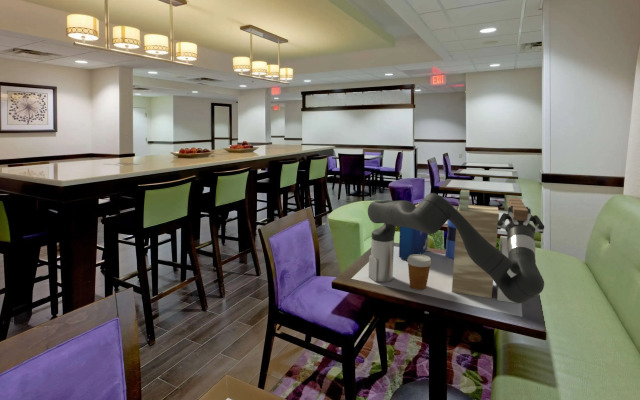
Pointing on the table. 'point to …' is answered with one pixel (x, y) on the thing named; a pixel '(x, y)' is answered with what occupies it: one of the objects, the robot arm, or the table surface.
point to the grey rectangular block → (504, 251)
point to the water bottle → (451, 239)
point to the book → (412, 241)
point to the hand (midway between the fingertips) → (519, 208)
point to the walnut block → (518, 209)
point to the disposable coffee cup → (418, 270)
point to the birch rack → (465, 270)
